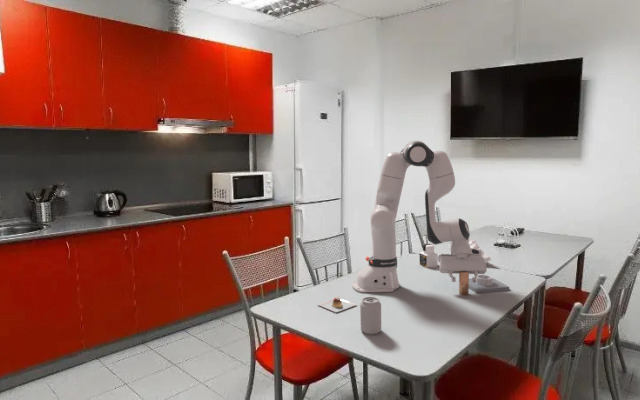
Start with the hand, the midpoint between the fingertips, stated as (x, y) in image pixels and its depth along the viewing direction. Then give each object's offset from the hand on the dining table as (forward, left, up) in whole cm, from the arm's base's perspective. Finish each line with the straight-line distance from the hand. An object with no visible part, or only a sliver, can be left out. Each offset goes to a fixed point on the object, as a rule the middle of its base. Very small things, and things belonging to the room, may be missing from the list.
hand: (464, 281), depth 186 cm
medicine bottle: (+4, +46, -6) cm, 46 cm away
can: (-51, -25, -6) cm, 57 cm away
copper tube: (0, +1, -6) cm, 6 cm away
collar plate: (+14, +8, -6) cm, 17 cm away
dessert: (-57, +2, -7) cm, 58 cm away
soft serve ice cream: (+30, +43, -6) cm, 53 cm away
